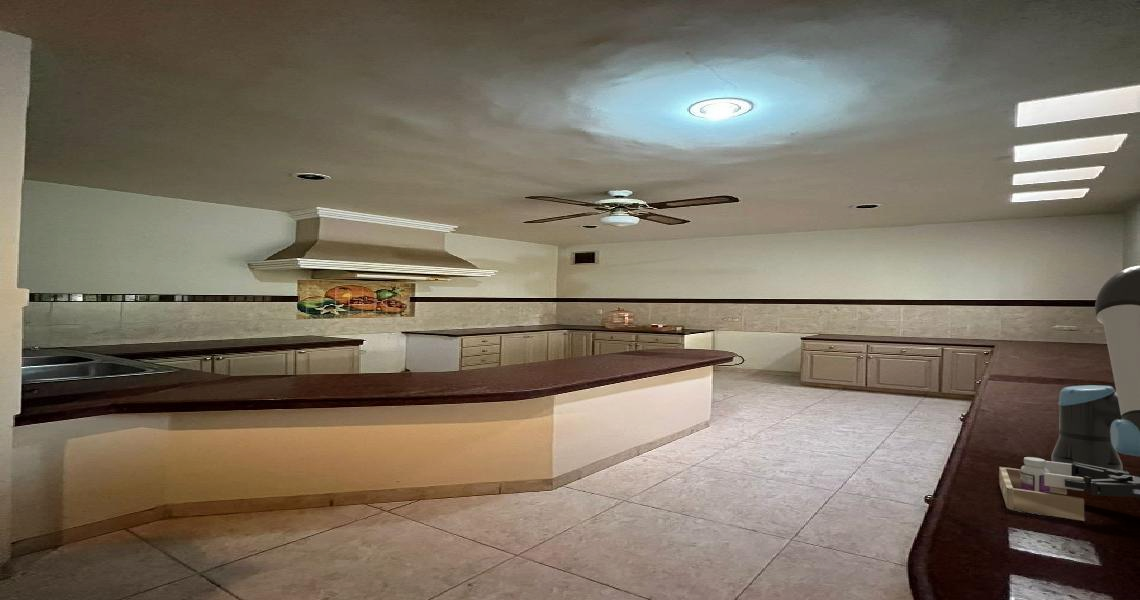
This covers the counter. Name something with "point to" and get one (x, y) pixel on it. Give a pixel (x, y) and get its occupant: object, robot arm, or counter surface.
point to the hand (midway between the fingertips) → (1039, 472)
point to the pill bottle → (1034, 475)
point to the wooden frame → (1038, 498)
